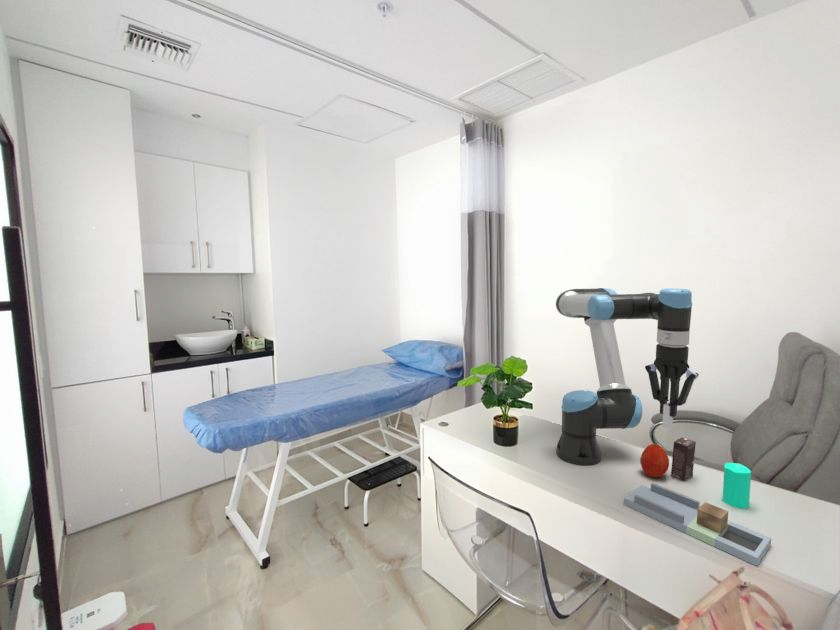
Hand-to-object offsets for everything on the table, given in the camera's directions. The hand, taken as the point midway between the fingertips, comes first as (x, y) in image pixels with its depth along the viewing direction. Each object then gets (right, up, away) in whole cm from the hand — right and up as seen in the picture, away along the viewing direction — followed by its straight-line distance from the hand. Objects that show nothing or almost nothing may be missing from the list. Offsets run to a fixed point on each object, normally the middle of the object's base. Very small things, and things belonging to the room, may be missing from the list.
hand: (667, 426), depth 110 cm
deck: (+2, -24, -7) cm, 25 cm away
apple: (+7, -21, +17) cm, 28 cm away
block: (+4, -22, -11) cm, 25 cm away
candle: (+21, -23, +2) cm, 31 cm away
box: (+15, -21, +16) cm, 31 cm away
